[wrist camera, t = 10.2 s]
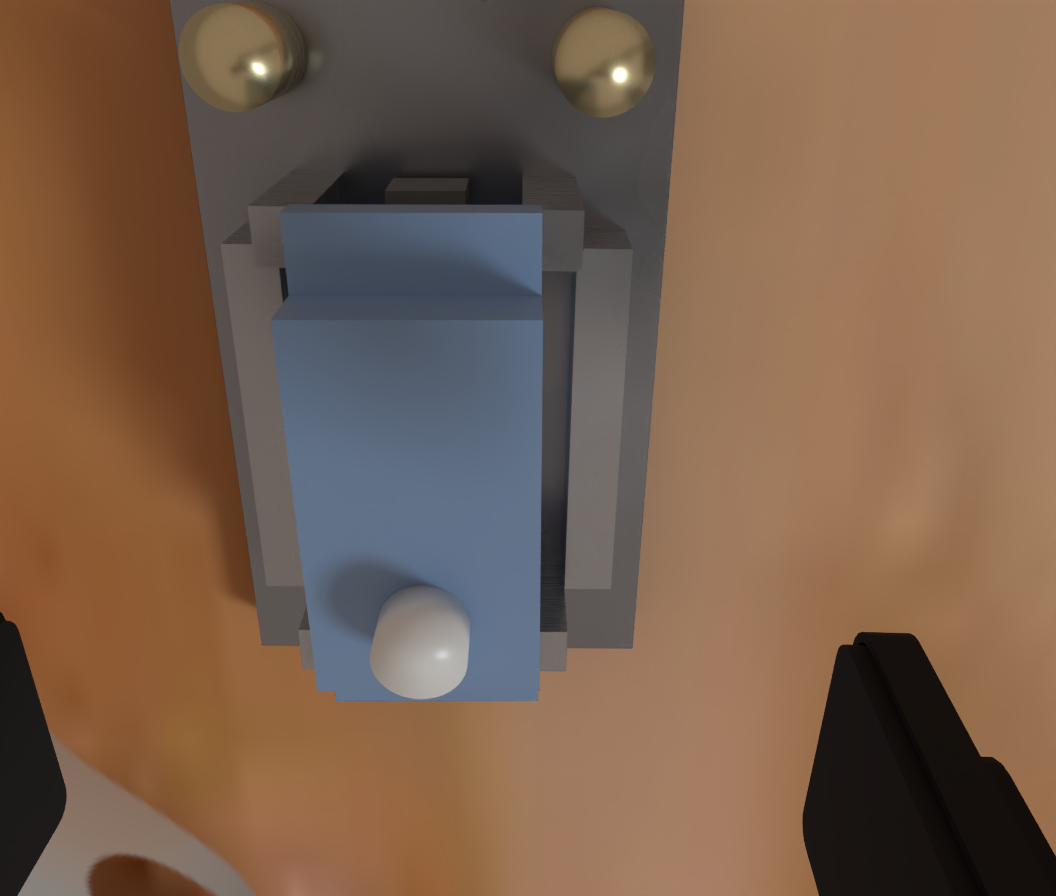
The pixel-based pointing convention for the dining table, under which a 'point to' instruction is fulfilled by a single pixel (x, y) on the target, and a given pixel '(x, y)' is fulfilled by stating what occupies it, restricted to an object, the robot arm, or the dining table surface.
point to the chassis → (494, 179)
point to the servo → (416, 440)
